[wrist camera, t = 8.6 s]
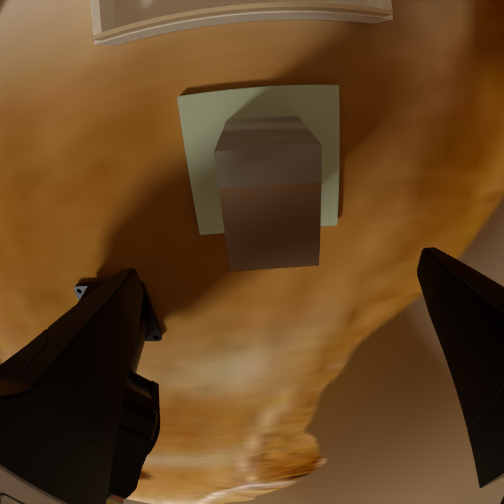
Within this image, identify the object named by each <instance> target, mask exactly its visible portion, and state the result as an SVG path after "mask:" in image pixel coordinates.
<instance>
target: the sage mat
mask: <svg viewBox="0 0 504 504" xmlns="http://www.w3.org/2000/svg"><path fill="white" fill-rule="evenodd" d="M177 99H178V106H179V113H180V120H181V127H182V134H183V140H184V146H185V153H186V159H187V165H188V171H189V177H190V183H191V189H192V195H193V200H194V206H195V211H196V217H197V222H198V228H199V233H200V235H207V234H219V233H225V232H224V225H223V217H222V210H221V202H220V195H219V187H218V179H217V172H216V164H215V156H214V150H215V148H216V145H217V143H218V140H219V138H220V135H221V132H222V130H223V127H224V125H225V123H226V121H232V120H243V119H256V118H272V117H295V116H298V117H299V118H300V120H301V121H302V122H303V123H304V124H305V126H306V127H307V128H308V129H309V130H310V131H311V133H312V134H313V135H314V136H315V137H316V139H317V140H318V141H319V142H320V144H321V145H322V180H321V226H332V225H337V220H338V198H339V164H340V104H339V85H279V86H262V87H248V88H237V89H227V90H218V91H209V92H202V93H195V94H188V95H181V96H178V97H177Z"/></svg>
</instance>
